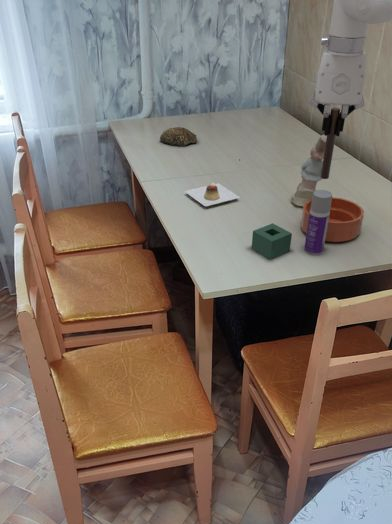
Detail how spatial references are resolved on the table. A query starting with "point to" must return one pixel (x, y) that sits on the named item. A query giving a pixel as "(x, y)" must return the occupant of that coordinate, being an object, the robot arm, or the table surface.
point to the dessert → (212, 194)
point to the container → (318, 222)
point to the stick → (330, 143)
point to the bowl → (338, 220)
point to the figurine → (310, 173)
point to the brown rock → (178, 136)
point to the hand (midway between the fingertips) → (331, 133)
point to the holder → (271, 241)
